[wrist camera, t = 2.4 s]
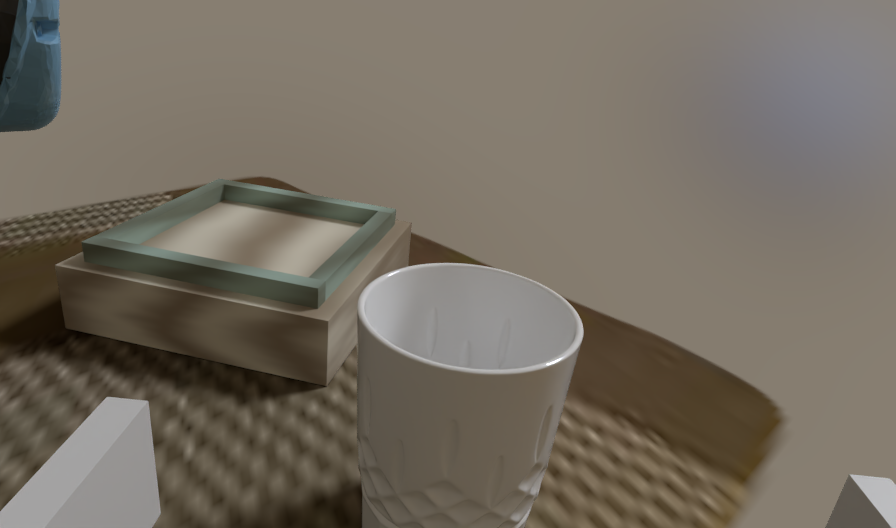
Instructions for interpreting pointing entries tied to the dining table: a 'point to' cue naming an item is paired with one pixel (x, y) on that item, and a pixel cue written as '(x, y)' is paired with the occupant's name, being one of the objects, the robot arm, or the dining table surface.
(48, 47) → the robot arm
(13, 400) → the dining table surface
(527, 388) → the white cup
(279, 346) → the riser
